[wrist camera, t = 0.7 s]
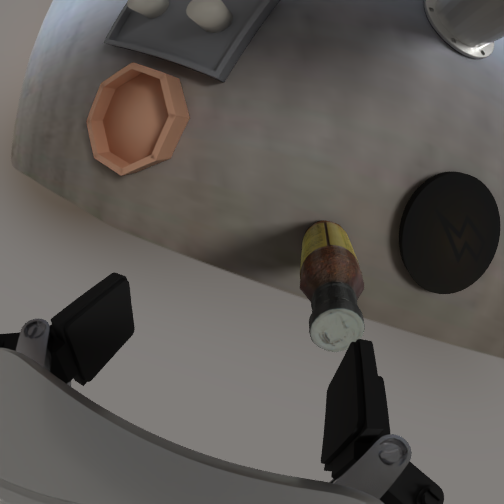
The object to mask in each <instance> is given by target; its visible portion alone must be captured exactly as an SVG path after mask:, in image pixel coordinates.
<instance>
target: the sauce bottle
mask: <svg viewBox="0 0 504 504" xmlns="http://www.w3.org/2000/svg"><path fill="white" fill-rule="evenodd" d="M300 289H301V290H302V291H303V293H304V294H305V295H306V296H307V298H308V299H309V300H310V301H311V307H312V314H311V316H310V319H309V329H310V330H309V332H310V337H311V339H312V341H313V342H314V343H315V344H316V345H317V346H318V347H320V348H322V349H324V350H327V351H332V352H339V351H344V350H346V349H348V348H349V345H350V343H351V342H356V340H357V339H360V338H361V337H362V335H363V332H364V319H363V316H362V312H361V310H360V309H359V307H358V306H357V300H358V298H359V296H360V294H361V293H362V291H363V290H364V282H363V278H362V272H361V270H360V266H359V263H358V260H357V258H356V255H355V253H354V250H353V248H352V245H351V243H350V240H349V238H348V235H347V234H346V232H345V231H344V230H343V229H342V227H341V226H340V225H338V224H336V223H334V222H330V221H319V222H317V223H314V224H313V225H312V226H311V227H310V228H308V230H307V231H306V234H305V236H304V238H303V242H302V253H301V266H300Z"/></svg>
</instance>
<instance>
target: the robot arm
mask: <svg viewBox="0 0 504 504" xmlns="http://www.w3.org/2000/svg"><path fill="white" fill-rule="evenodd" d="M424 9H425V12H426V15H427V17H428V19H429V22H430V23H431V25H432V26H433V28H434V29H435V30H436V32H437V33H438V34H439V35H440V36H441V37H442V38H443V40H444V41H445V42H447V43H448V44H449V45H450V46H451V47H453V48H454V49H455V50H457V51H458V52H460V53H462V54H463V55H465V56H468V57H470V58H474V59H483V58H486V57H488V56H490V55H491V53H492V52H493V49H494V41H496V40H498V39H500V38H502V37H504V0H425V1H424ZM51 322H52V325H50V326H49V324H48V322H47V321H46V320H43V319H33V320H30V321H28V322H27V323H25V325H24V326H23V327H22V329H21V332H20V333H10V334H0V504H443V501H444V494H443V491H442V489H441V488H440V487H439V486H438V485H437V484H436V483H435V482H433V481H432V480H431V479H430V478H429V477H427V476H426V475H425V474H424V473H422V472H421V471H420V470H419V469H418V468H417V467H416V466H414V465H413V464H412V463H411V462H410V459H411V448H410V446H409V444H408V442H407V441H406V440H405V439H404V438H402V437H400V436H398V435H394V434H392V435H390V427H389V417H388V408H387V401H386V393H385V386H384V381H383V378H382V377H381V376H378V374H377V367H376V361H375V355H374V349H373V344H372V342H371V341H367V340H362V339H357V340H356V342H351V343H350V345H349V348H348V350H347V352H346V354H345V356H344V358H343V360H342V362H341V364H340V366H339V368H338V370H337V371H336V373H335V375H334V377H333V379H332V381H331V383H330V384H329V387H328V390H327V399H326V415H325V426H324V438H323V446H322V456H321V463H323V464H325V468H324V470H325V471H332V478H333V479H332V480H331V481H330V482H329V483H328V482H323V481H315V480H310V479H304V478H298V477H292V476H286V475H281V474H276V473H271V472H267V471H262V470H258V469H254V468H250V467H245V466H241V465H238V464H234V463H230V462H227V461H224V460H221V459H217V458H214V457H211V456H208V455H205V454H202V453H199V452H197V451H194V450H191V449H188V448H186V447H183V446H181V445H178V444H175V443H173V442H171V441H168V440H166V439H164V438H161V437H159V436H157V435H155V434H152V433H150V432H148V431H146V430H144V429H142V428H140V427H138V426H136V425H134V424H132V423H130V422H128V421H126V420H124V419H122V418H121V417H119V416H117V415H115V414H113V413H111V412H110V411H108V410H106V409H104V408H103V407H101V406H100V405H98V404H96V403H94V402H93V401H91V400H90V399H88V398H87V397H85V396H84V395H82V394H81V393H79V392H78V391H76V390H74V389H73V388H72V387H71V380H72V379H73V378H74V379H75V381H77V382H78V383H80V384H81V385H83V386H84V385H85V384H86V382H87V381H88V382H89V381H91V380H92V379H93V378H94V377H95V376H96V375H97V373H98V372H99V371H100V370H101V369H102V368H103V367H104V366H105V365H106V363H107V362H108V361H109V360H110V359H111V358H112V357H113V356H114V355H115V353H116V352H117V351H118V350H119V349H120V348H121V347H122V345H124V343H125V342H126V341H127V340H128V339H129V338H130V337H131V336H132V335H133V333H134V321H133V313H132V306H131V296H130V287H129V282H128V281H127V278H126V277H125V276H123V275H120V274H118V273H112V274H110V275H109V276H108V277H106V278H105V279H104V280H102V281H101V282H99V283H98V284H96V285H95V286H94V287H92V288H91V289H90V290H88V291H87V292H86V293H84V294H83V295H82V296H80V297H79V298H78V299H76V300H75V301H74V302H72V303H71V304H70V305H68V306H67V307H66V308H64V309H63V310H62V311H61V312H59V313H58V314H57V315H56V316H54V317H53V318H52V319H51Z"/></svg>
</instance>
